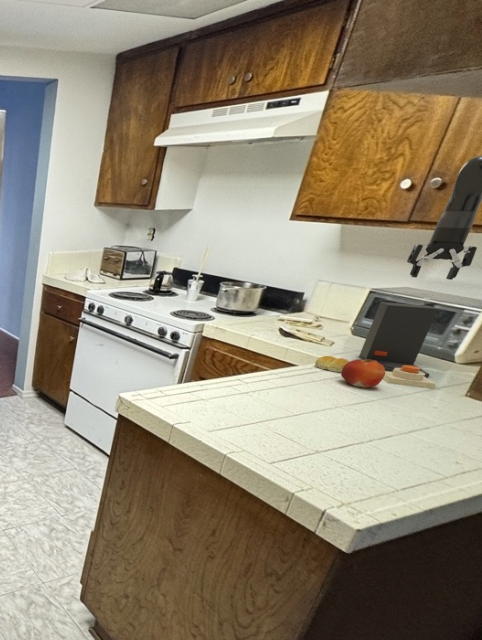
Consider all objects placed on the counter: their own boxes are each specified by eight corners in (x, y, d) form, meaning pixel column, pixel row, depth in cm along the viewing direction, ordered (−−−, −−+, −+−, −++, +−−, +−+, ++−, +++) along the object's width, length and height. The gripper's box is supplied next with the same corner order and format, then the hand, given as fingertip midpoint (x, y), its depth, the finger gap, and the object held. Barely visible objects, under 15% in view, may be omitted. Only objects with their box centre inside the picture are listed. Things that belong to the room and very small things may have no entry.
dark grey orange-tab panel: (427, 378, 146) (457, 315, 138) (376, 372, 151) (402, 310, 143) (403, 363, 160) (429, 305, 152) (357, 358, 165) (380, 301, 157)
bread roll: (323, 363, 159) (327, 352, 157) (354, 371, 151) (359, 359, 149) (307, 365, 156) (311, 354, 154) (339, 374, 148) (344, 362, 147)
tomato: (383, 393, 133) (394, 366, 130) (341, 386, 138) (351, 360, 135) (373, 383, 141) (384, 358, 138) (334, 377, 145) (343, 353, 142)
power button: (414, 371, 142) (416, 366, 141) (419, 375, 139) (422, 369, 138) (398, 369, 143) (400, 364, 143) (403, 373, 140) (405, 367, 140)
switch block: (420, 380, 144) (425, 370, 142) (433, 389, 137) (438, 377, 136) (377, 375, 148) (382, 364, 146) (388, 383, 141) (392, 372, 140)
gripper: (428, 225, 148) (407, 277, 154) (492, 227, 142) (467, 281, 148) (417, 225, 154) (397, 275, 160) (478, 226, 148) (455, 278, 154)
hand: (431, 278), depth 154 cm, fingers open, 8 cm apart
